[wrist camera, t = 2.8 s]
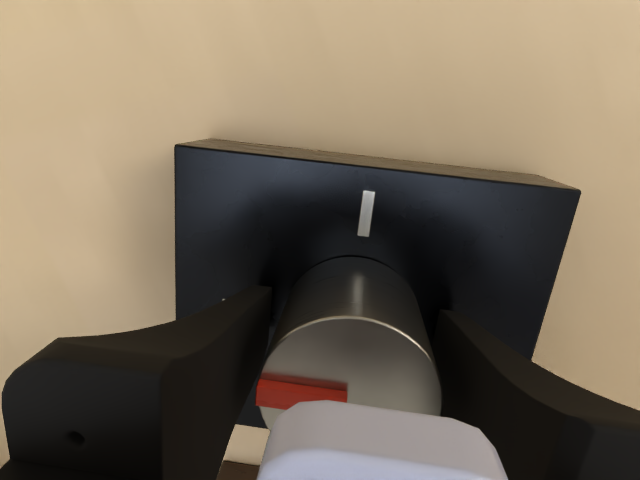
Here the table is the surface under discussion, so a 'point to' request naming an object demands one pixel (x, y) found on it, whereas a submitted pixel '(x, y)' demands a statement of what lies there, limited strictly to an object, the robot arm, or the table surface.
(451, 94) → the table surface
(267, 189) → the panel
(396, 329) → the dial
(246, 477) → the button box
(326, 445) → the robot arm
